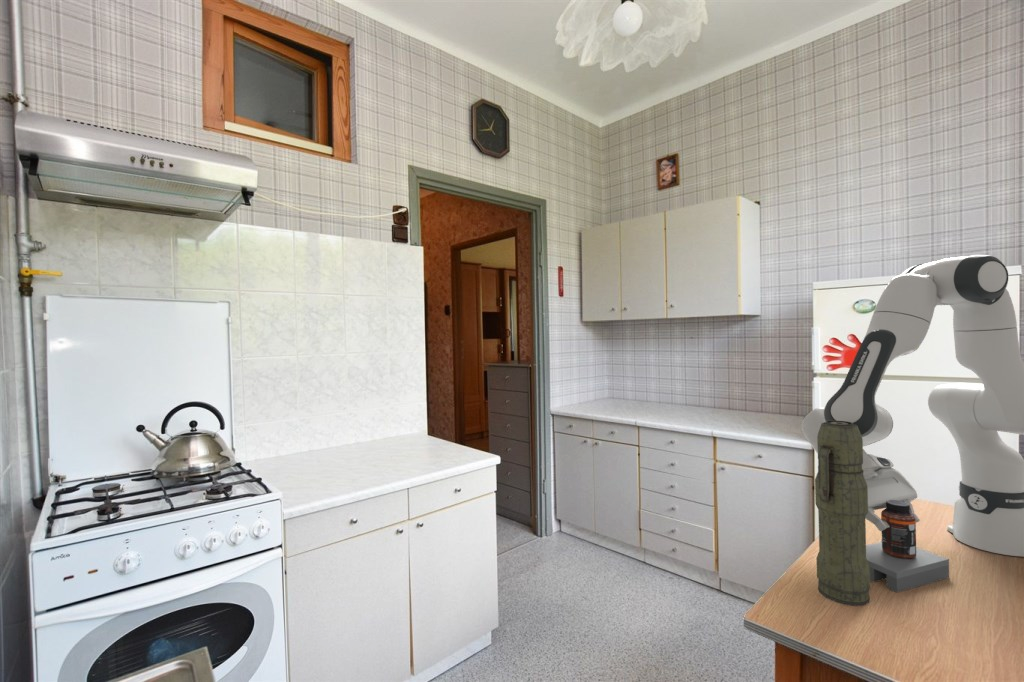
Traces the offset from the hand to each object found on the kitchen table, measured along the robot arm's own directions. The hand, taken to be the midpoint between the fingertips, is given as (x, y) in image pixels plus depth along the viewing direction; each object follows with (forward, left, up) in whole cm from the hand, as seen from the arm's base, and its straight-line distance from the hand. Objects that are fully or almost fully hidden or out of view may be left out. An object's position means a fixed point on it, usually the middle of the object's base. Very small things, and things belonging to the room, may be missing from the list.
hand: (900, 526), depth 105 cm
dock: (+1, -1, -10) cm, 10 cm away
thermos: (+19, +1, -11) cm, 22 cm away
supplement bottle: (0, -1, -7) cm, 7 cm away
